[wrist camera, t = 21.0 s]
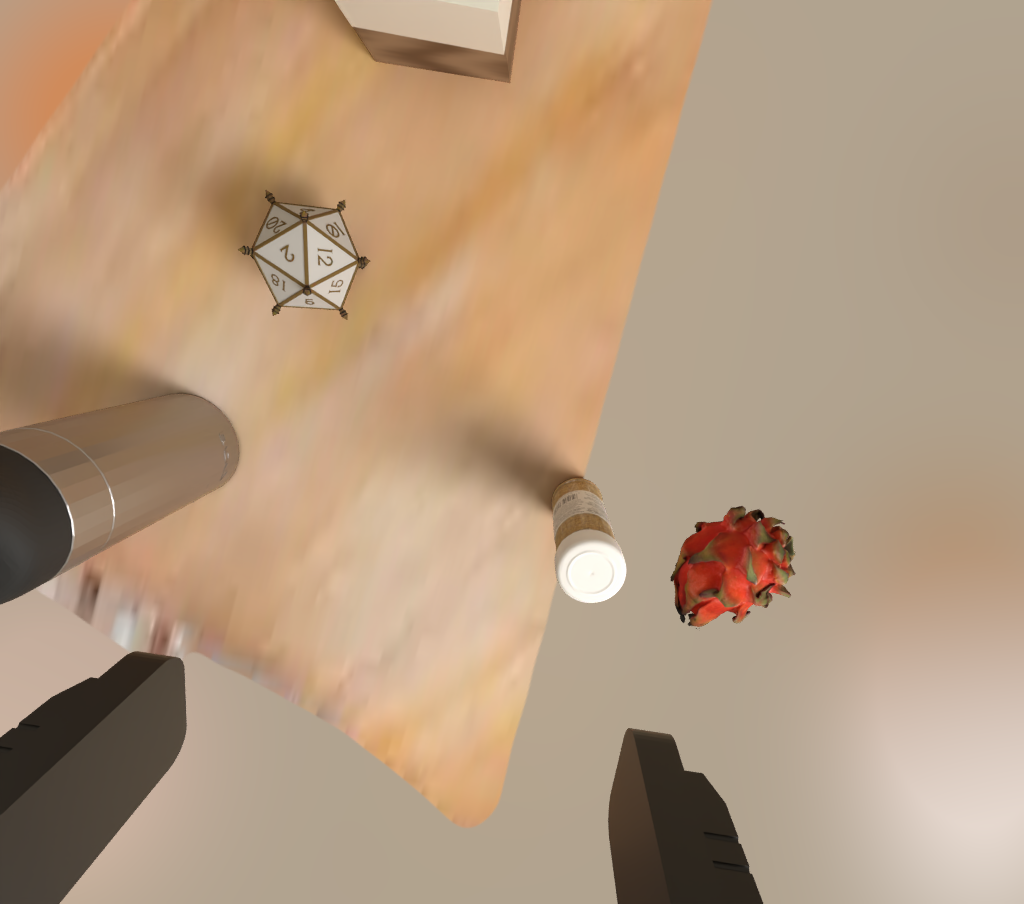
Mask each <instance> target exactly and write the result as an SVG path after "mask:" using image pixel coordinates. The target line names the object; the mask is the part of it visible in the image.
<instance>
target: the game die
mask: <svg viewBox="0 0 1024 904" xmlns="http://www.w3.org/2000/svg"><path fill="white" fill-rule="evenodd" d="M272 195H273V194H271V193H269V192H268V191H266V197H265V198H267V199H268V201H269V202H270V203H271V207H270V209H269V211H268V213H267V216H266V218H265V220H264V222H263V224H262V227H261V229H260V231H259V233H258V235H257V237H256V240H255V242H254V244H253V246H252V248H249V247H248V246H247V247H245V246H243V247H242V248H240V249H238V250H239V251H241V252H242V253H243V254H244V255H245V254H247V255H249V254H251V255H250V256H251V257H252V258H253V259H254V260H255V262H256V264H257V266H258V268H259V270H260V272H261V273H262V275H263V277H264V279H265V281H266V283H267V285H268V287H269V289H270V291H271V293H272V295H273V297H274V299H275V301H276V303H277V305H276V306H274V308H273V309H272V313H273V316H274V315H276V314H279V311H280V308H281V307H296V308H313V309H329V310H339V311H340V314H341V317H343V318H345V319H346V320H347V314H348V313H346V310H344V309H343V305H344V303H345V300H346V298H347V295H348V292H349V290H350V287H351V285H352V282H353V279H354V277H355V274H356V272H357V269H358V267H359V268H361V269H363V268H364V267H365V266H367V264H368V263H369V262H370V260H368V259H367V258H366V257H361V258H359V256H358V253H357V251H356V249H355V246H354V244H353V241H352V239H351V237H350V234H349V232H348V229H347V227H346V225H345V222H344V220H343V217H342V215H341V211H342V210H344V208H346V207H345V200H343V201H341V202H339V204H338V205H337V209H331V208H323V207H314V206H306V205H297V204H289V203H280V202H275V198H274V197H273V196H272Z"/></svg>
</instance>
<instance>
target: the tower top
mask: <svg viewBox="0 0 1024 904" xmlns="http://www.w3.org/2000/svg"><path fill="white" fill-rule="evenodd" d="M335 2H336V3H337V5H338V6H339V8H340V9H341V11H342V12H343V14H344V16H345V17H346V19H347V20H348V22H349V23H350V25H351V26H352V27H357V28H363V29H368V30H374V31H379V32H384V33H390V34H395V35H400V36H406V37H411V38H416V39H422V40H427V41H432V42H438V43H443V44H449V45H454V46H459V47H465V48H470V49H475V50H481V51H486V52H491V53H497V54H502V55H504V51H505V45H506V38H507V32H508V25H509V19H510V12H511V5H512V0H335Z"/></svg>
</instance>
